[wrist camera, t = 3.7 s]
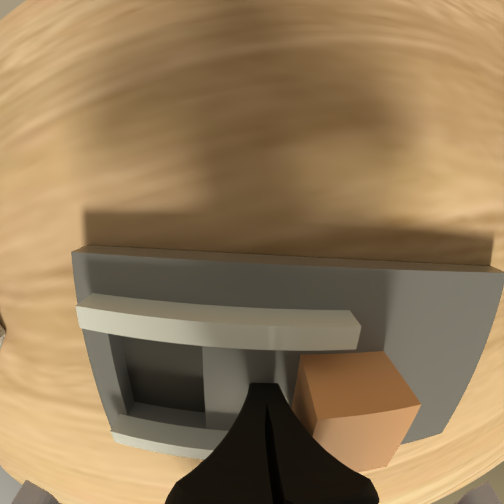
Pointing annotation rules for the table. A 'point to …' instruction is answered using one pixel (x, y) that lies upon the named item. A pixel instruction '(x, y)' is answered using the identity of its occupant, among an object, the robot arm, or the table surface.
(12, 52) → the table surface
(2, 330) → the medicine box
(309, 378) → the block
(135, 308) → the channel
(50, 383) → the table surface
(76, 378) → the table surface
